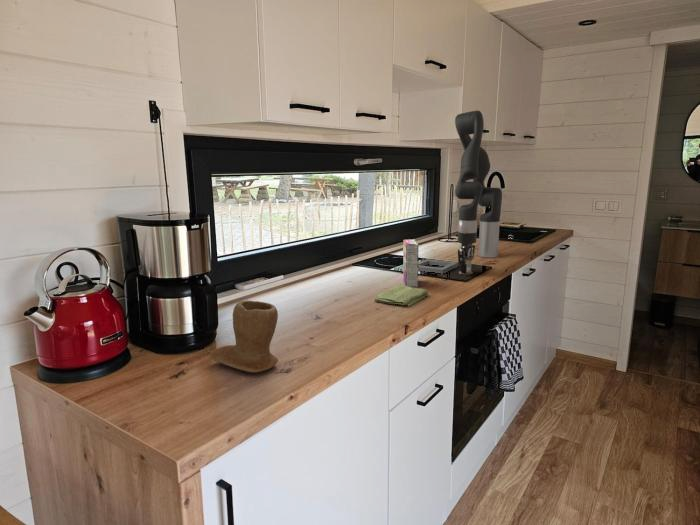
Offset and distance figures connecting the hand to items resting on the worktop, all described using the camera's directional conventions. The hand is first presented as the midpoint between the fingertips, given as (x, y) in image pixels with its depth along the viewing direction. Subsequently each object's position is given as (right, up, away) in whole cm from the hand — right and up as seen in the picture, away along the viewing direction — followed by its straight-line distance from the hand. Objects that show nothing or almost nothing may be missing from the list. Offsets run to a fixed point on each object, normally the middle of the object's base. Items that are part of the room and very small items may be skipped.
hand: (465, 271), depth 199 cm
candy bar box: (-25, -5, -15) cm, 30 cm away
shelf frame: (-11, +1, +10) cm, 15 cm away
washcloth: (-30, -9, -35) cm, 47 cm away
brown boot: (-72, -20, -87) cm, 114 cm away
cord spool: (0, -1, 0) cm, 1 cm away
